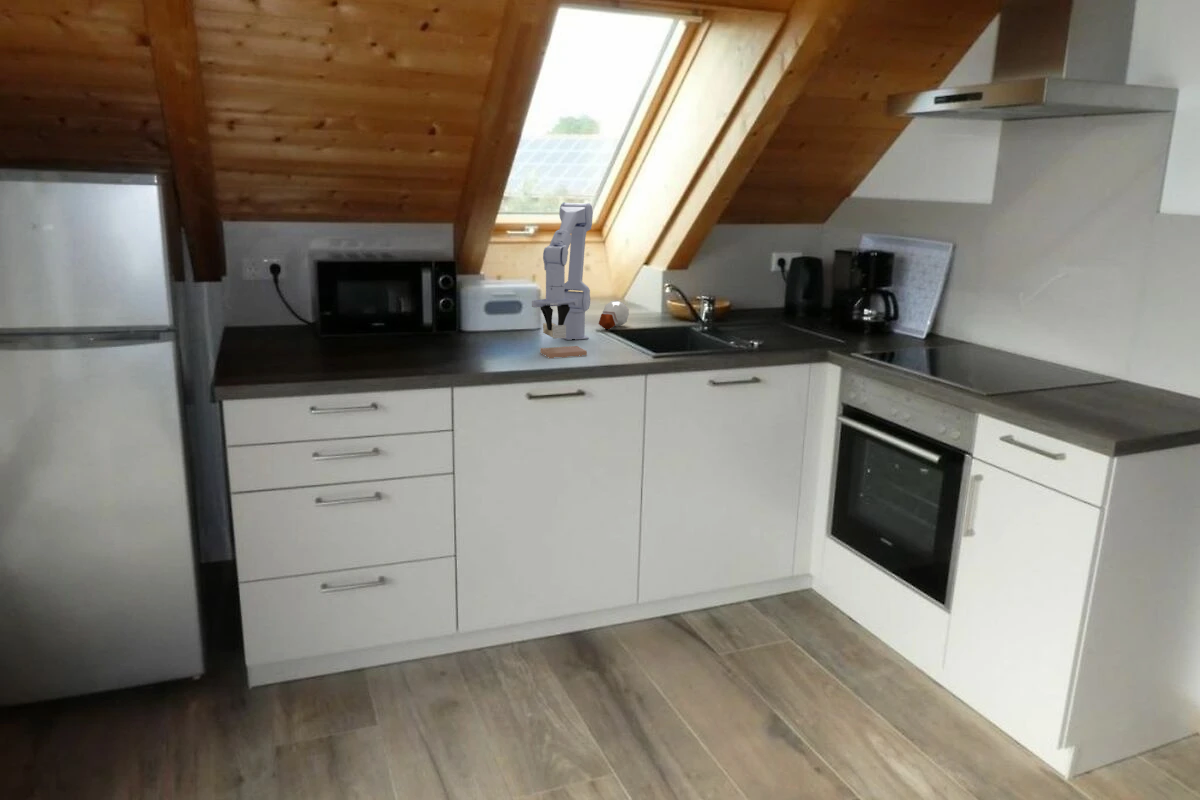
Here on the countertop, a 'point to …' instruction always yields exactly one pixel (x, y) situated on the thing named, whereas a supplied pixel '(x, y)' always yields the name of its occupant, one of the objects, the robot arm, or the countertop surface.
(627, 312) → the potion bottle
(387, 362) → the countertop surface
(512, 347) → the countertop surface
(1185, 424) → the countertop surface
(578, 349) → the tile
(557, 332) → the capped square post
